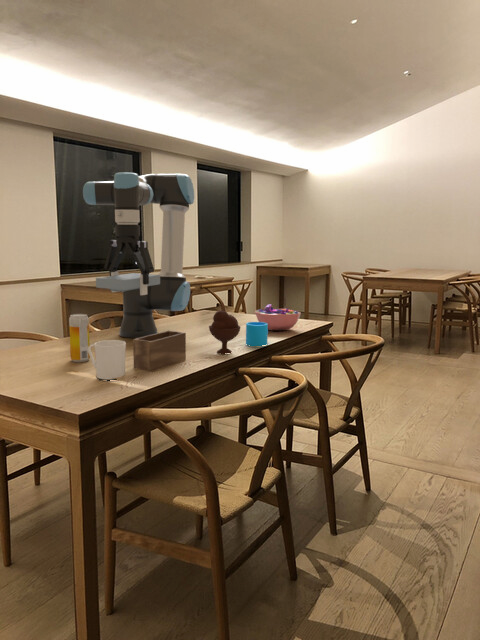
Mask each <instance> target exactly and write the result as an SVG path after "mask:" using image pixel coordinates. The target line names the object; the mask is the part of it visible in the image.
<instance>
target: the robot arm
mask: <svg viewBox="0 0 480 640" xmlns="http://www.w3.org/2000/svg"><path fill="white" fill-rule="evenodd" d="M82 196H83V200H84V201H85V203H86V204H88V205H92V206H93V205H94V206H114V222H115V223H116V224H115V227H114V229H115V231H114V233H115V236H116V239H109V240H108V251H107V253H106V258H105V262H104V267H103V269H104V270H106V271H108V272H109V276H114V275H120V274H119V270H118V267H119V266H120V264H121V262H122V259H123V258H124V256H125V255H126V254H127V255H130V256H132V257H133V259H134V261H135V263H136V264H137V267H138V270H139V271H140V289H134V290H128V291H122V306H123V308H122V309H123V311H122V312H123V317H122V321H121V323H120V328H119V336H120V337H123V338H127V339H128V338H129V339H136V338H140V337H144V336H148V335H152V334H156V333H158V328H157V325H156V323H155V320H154V315H153V312H154V311H168V312H169V311H171V312H175V311H176V312H178V311H179V312H180V311H183V310H185V309H186V307H187V306H188V304H189V301H190V297H191V284H190V282H188V281H187V276H186V275H184V273H183V270H184V269H183V267H184V243H185V242H184V240H185V239H184V238H185V222H186V221H185V218H186V217H185V216H186V212H188V211H189V210H190V205H192V204H194V203H195V189H194V184H193V181H192V179H191V177H190V175H188V174H185V173H149V174H144V175H139V174H138V173H135V172H116V173H115V174H114V175H113V180H107V181H94V180H93V181H87V182H86V183H85V184H84V185H83V188H82ZM150 204H154V205H155V204H156V205H159V209H160V210H161V211H162V234H161V255H160V256H161V260H160V272H159V273H158V274H157V275H160V284H158V285H152V286H147V284H149V274H151V273H154V271H155V267H154V264H153V262H152V258H151V254H150V252H149V247H148V246H149V243H148V241H147V240H141V241H140V236H141V230H140V229H141V226H140V225H139V223H140V222H141V219H140V206H142V207H143V206H146V205H150ZM118 292H119V291H111V293H118Z"/></svg>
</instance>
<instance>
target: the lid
mask: <svg viewBox="0 0 480 640" xmlns="http://www.w3.org/2000/svg"><path fill="white" fill-rule="evenodd" d="M140 274H141V272H140V273H136V272H131V273H123V274H119V275H114V276H110V275H109V276H108V275H107V276H100V277H99V276H98V277H95V287H96V289H97V288H98V289H109V291H111V292H112V291H119V292H122V291H128V290H134V289H140ZM158 284H160V275H158V274H153V273H152V274H151V273H149V284H147V286H152V285H158ZM122 293H123V292H122Z"/></svg>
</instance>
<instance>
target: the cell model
mask: <svg viewBox="0 0 480 640" xmlns="http://www.w3.org/2000/svg"><path fill="white" fill-rule="evenodd" d="M254 312H255V316H256V319H257V322H264V323H267V324H268V331H288V330H291V329H292V328H293V327H294V326H295V325H296V324H297V323H298V321H299V320H300V316H301V313H302V312H301V311H298V310H297V311H296V310H294V309H289V308H273V307H272V304H270V303H269V304H266V305H265V307H264V308H261V309H256V310H255V311H254Z"/></svg>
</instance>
